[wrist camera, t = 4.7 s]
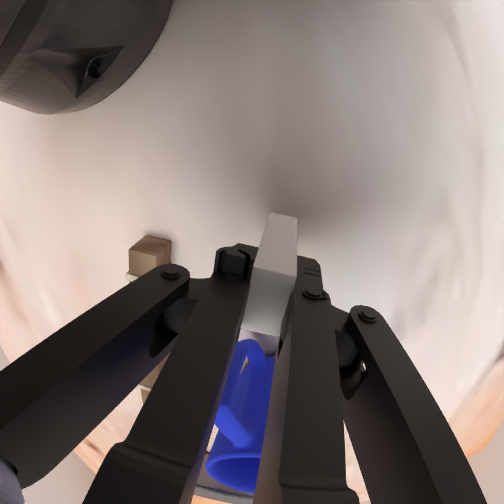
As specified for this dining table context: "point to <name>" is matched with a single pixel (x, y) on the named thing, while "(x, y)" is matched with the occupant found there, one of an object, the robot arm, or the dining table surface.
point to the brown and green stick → (140, 262)
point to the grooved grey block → (219, 489)
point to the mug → (242, 419)
